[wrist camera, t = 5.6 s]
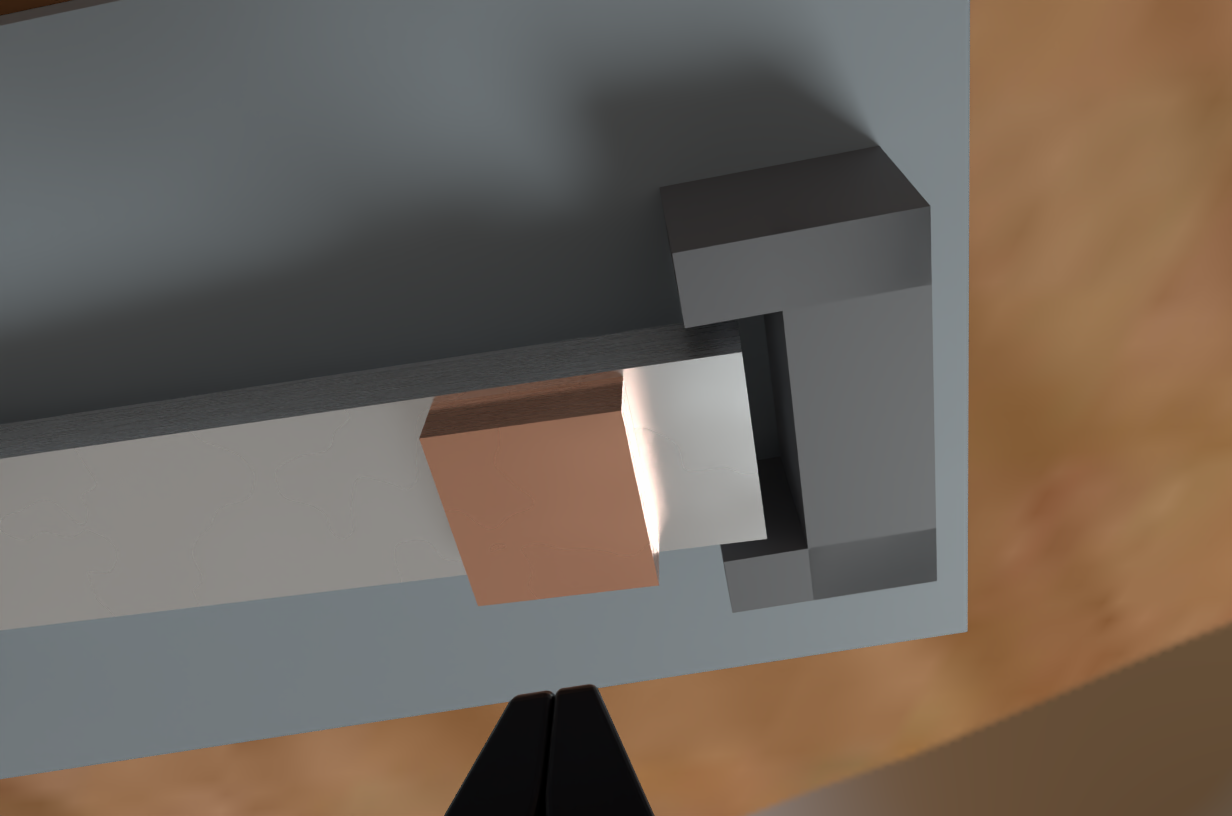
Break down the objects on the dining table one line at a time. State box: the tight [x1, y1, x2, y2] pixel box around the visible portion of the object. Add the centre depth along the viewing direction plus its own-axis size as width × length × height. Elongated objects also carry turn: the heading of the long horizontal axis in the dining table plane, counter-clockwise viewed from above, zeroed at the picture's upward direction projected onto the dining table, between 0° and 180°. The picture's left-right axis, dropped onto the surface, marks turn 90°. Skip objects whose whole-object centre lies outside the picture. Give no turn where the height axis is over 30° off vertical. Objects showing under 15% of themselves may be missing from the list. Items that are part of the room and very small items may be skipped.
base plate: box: [0, 0, 970, 779], centre depth 15 cm, size 20×13×4 cm, turn 101°
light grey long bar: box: [0, 319, 767, 630], centre depth 14 cm, size 15×3×2 cm, turn 101°
